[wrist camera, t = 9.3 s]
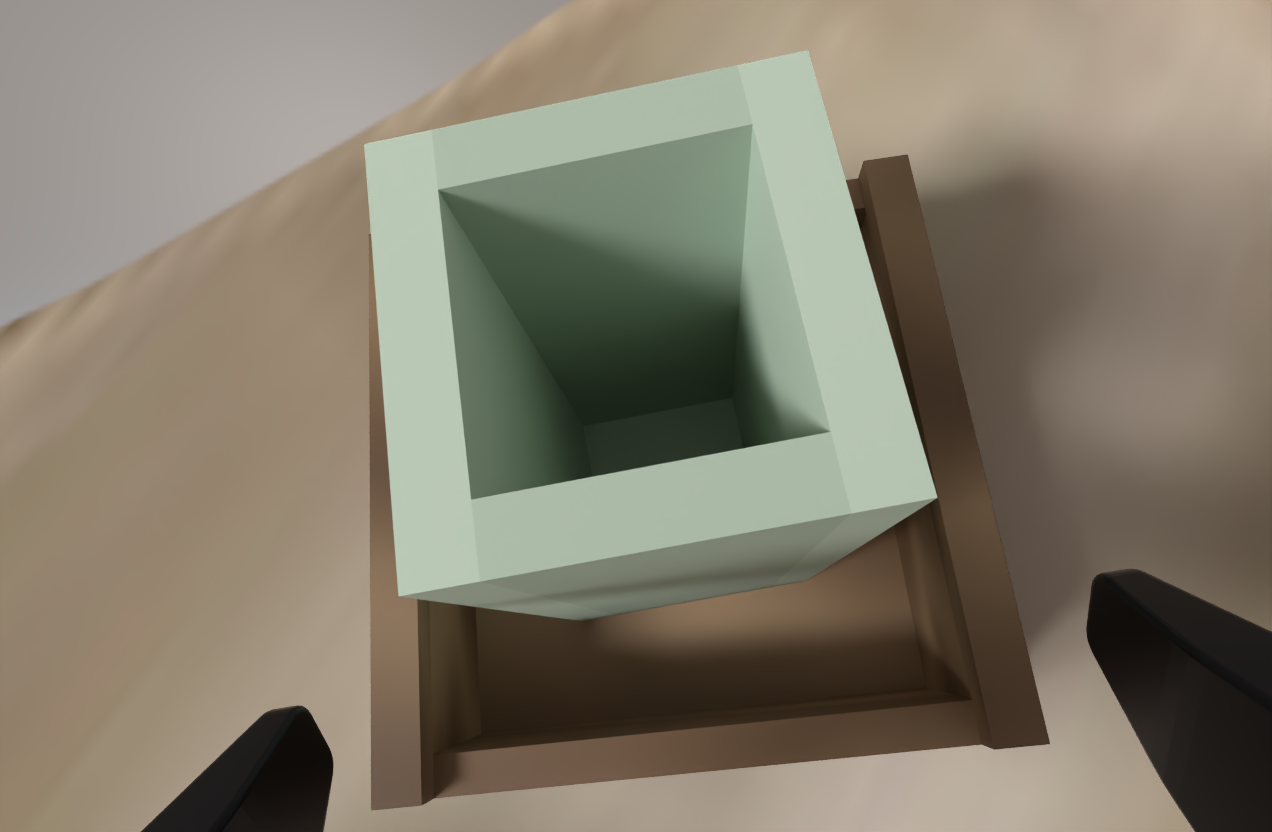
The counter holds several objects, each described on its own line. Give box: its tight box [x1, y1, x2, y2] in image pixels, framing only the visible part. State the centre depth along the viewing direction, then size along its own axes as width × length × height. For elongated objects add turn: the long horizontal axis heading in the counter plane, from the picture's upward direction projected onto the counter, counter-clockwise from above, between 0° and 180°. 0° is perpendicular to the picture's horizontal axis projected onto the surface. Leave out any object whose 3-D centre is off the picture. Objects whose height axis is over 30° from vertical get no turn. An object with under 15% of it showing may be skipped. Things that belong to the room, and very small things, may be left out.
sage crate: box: [364, 50, 938, 621], centre depth 15 cm, size 6×6×12 cm
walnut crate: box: [369, 155, 1050, 810], centre depth 19 cm, size 13×13×5 cm
